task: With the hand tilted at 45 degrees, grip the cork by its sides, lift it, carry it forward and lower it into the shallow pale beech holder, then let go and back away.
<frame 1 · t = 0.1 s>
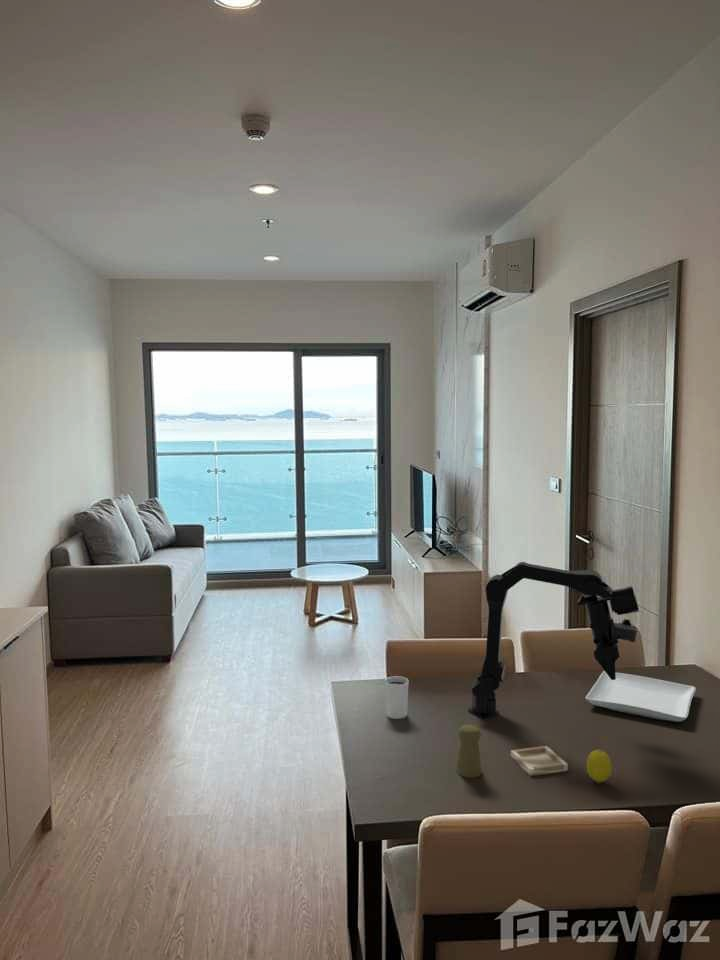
hand: (613, 673, 194), 15 cm above the table, tool pointing down, fingers open, 9 cm apart
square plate: (641, 703, 214), on the table
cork: (469, 772, 173), on the table
lemon: (598, 783, 167), on the table
holder: (538, 763, 176), on the table
drinking glass: (396, 715, 205), on the table
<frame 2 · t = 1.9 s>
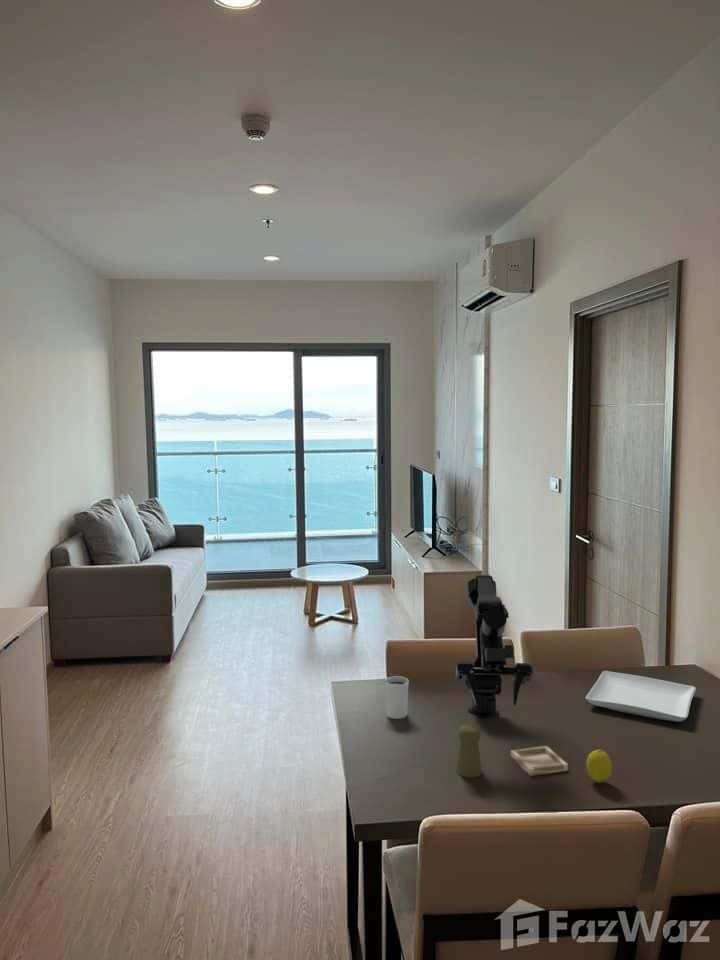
hand: (495, 705, 178), 14 cm above the table, tool tilted 40°, fingers open, 9 cm apart
nothing on the table moved.
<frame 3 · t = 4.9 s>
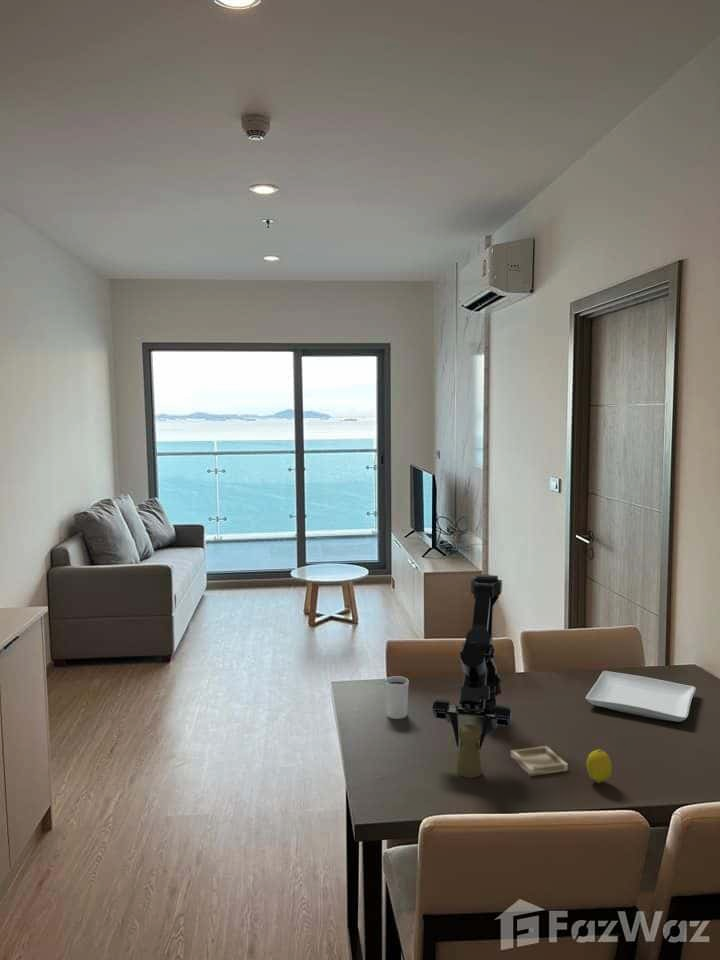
hand: (468, 747, 171), 7 cm above the table, tool tilted 45°, fingers closed on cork, 5 cm apart
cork: (469, 772, 173), on the table, touching gripper
everything else where it was.
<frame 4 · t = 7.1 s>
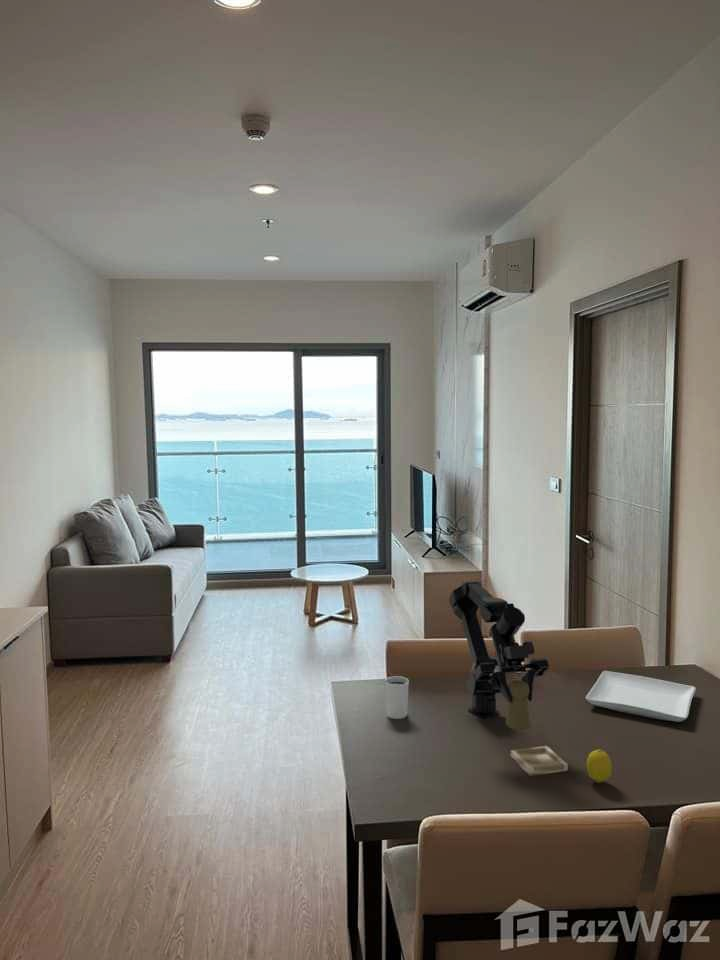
hand: (520, 701, 181), 13 cm above the table, tool tilted 45°, fingers closed on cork, 5 cm apart
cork: (517, 724, 183), point 7 cm above the table, touching gripper
everything else where it was.
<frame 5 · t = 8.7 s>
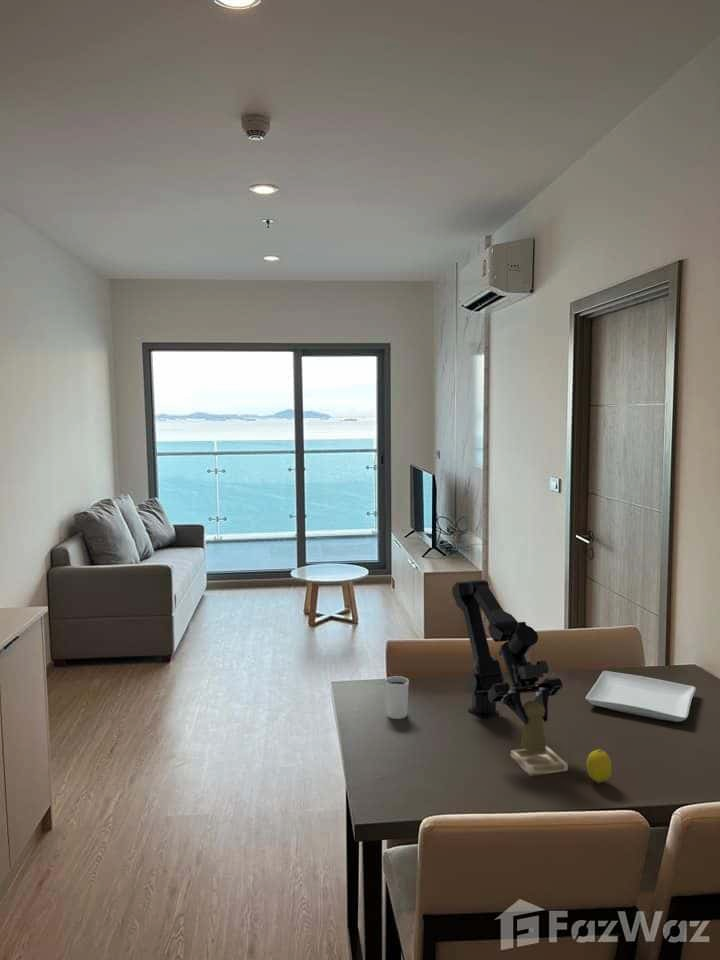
hand: (536, 722, 177), 10 cm above the table, tool tilted 45°, fingers closed on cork, 5 cm apart
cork: (533, 746, 179), point 3 cm above the table, touching gripper
everything else where it was.
when the fingers open (8 cm above the table, at t = 9.7 s): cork stays where it is, resting on holder.
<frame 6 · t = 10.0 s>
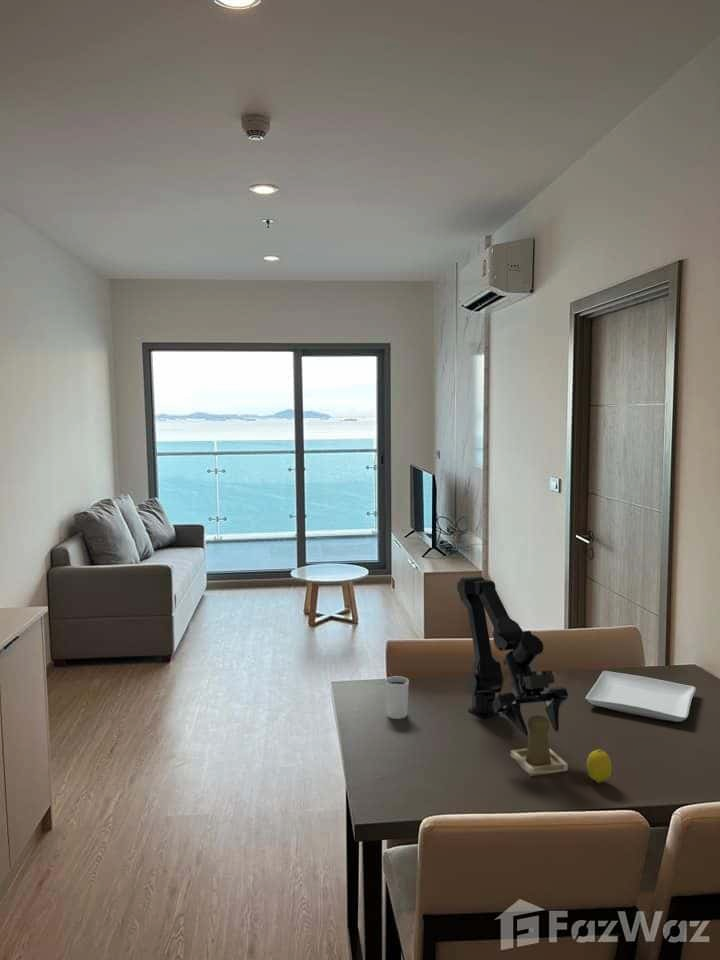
hand: (542, 733, 174), 8 cm above the table, tool tilted 45°, fingers open, 8 cm apart
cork: (538, 761, 177), resting on holder
everything else where it was.
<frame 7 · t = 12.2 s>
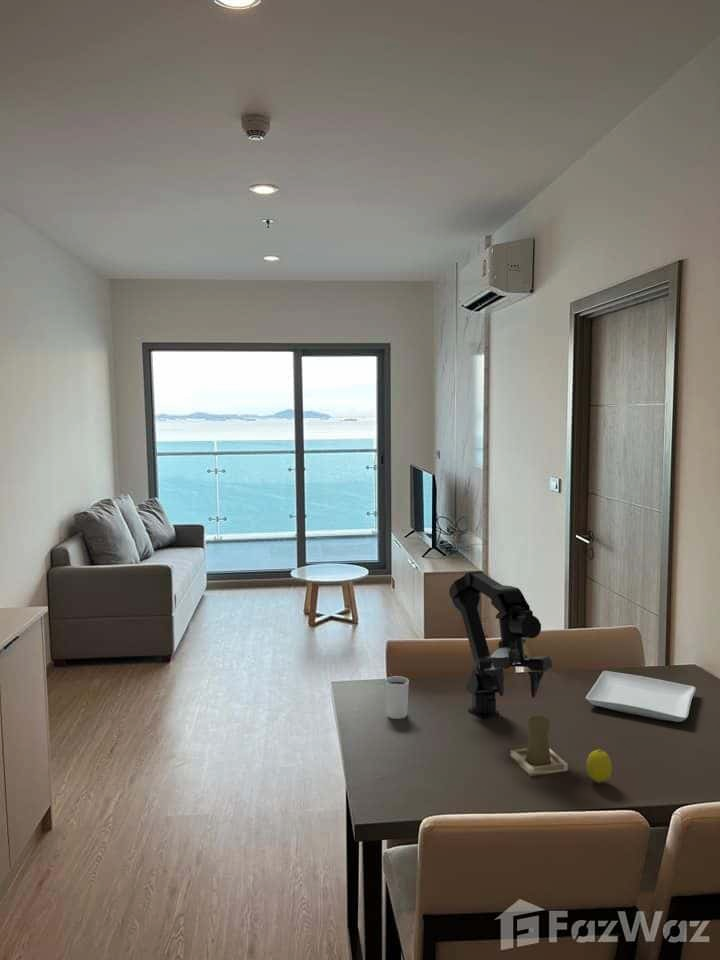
hand: (517, 696, 189), 12 cm above the table, tool pointing down, fingers open, 9 cm apart
nothing on the table moved.
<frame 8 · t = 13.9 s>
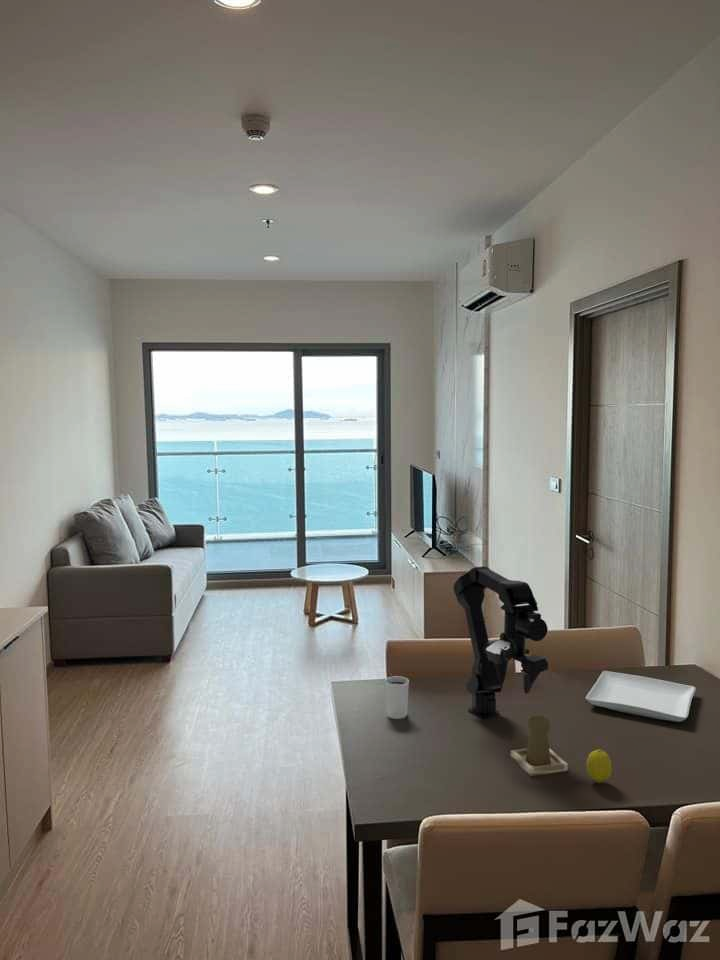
hand: (514, 687, 191), 13 cm above the table, tool pointing down, fingers open, 9 cm apart
nothing on the table moved.
at the end: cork 0.1 cm from the holder (horizontally); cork resting on holder; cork tilted 0° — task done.
